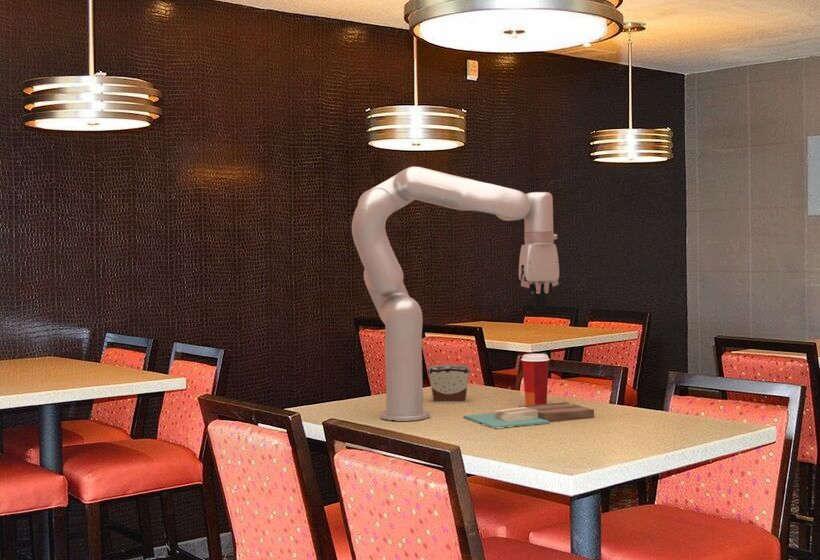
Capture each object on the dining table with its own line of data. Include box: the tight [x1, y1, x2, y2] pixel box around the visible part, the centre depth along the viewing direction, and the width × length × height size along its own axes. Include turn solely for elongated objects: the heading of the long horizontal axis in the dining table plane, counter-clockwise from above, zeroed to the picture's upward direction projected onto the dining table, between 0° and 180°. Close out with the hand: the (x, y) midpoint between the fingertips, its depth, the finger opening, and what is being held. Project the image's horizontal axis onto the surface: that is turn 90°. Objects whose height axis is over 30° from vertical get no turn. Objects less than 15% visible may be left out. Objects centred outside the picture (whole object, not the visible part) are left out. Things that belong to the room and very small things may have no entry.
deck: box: [518, 401, 595, 423], centre depth 267 cm, size 14×14×2 cm
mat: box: [463, 412, 551, 428], centre depth 261 cm, size 18×15×1 cm
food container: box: [426, 364, 471, 403], centre depth 296 cm, size 12×6×10 cm, turn 82°
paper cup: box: [520, 353, 550, 406], centre depth 282 cm, size 8×8×14 cm
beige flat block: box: [494, 406, 538, 422], centre depth 261 cm, size 6×9×2 cm, turn 120°
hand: (540, 308), depth 274 cm, fingers closed
